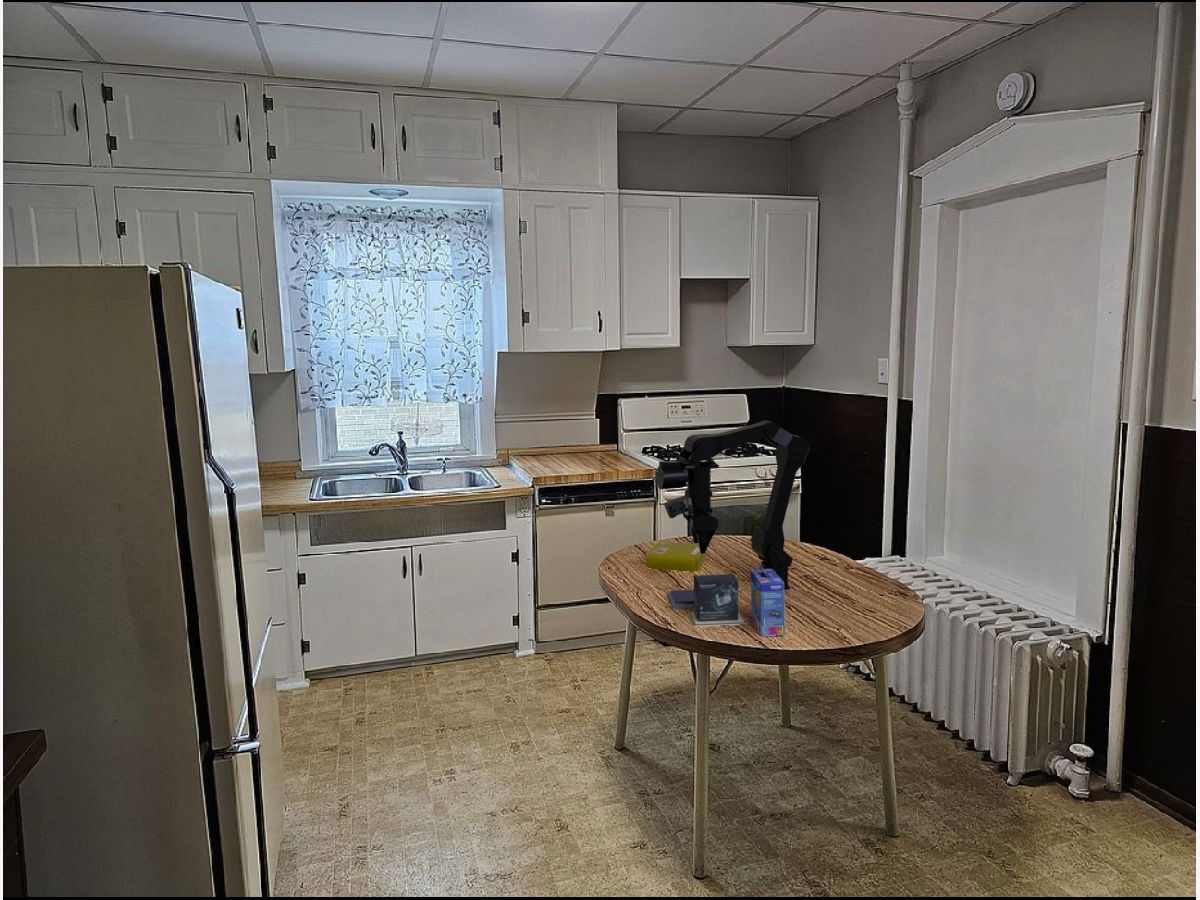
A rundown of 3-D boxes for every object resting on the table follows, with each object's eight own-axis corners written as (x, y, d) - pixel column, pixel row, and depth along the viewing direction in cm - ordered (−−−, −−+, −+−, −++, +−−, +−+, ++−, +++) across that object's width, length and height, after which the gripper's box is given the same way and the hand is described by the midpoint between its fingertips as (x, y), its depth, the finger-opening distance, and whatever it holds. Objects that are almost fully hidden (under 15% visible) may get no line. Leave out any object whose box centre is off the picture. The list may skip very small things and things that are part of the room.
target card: (738, 610, 177) (738, 608, 177) (747, 624, 169) (747, 622, 168) (687, 612, 177) (687, 610, 177) (694, 626, 168) (694, 625, 168)
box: (697, 622, 170) (697, 582, 168) (693, 613, 175) (693, 574, 174) (738, 620, 170) (738, 580, 169) (733, 611, 176) (733, 572, 174)
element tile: (697, 574, 207) (697, 557, 206) (644, 570, 211) (644, 553, 211) (707, 558, 221) (707, 542, 220) (657, 555, 226) (657, 539, 225)
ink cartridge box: (749, 620, 171) (749, 558, 169) (773, 619, 171) (774, 557, 169) (760, 637, 161) (760, 572, 159) (785, 636, 161) (786, 571, 159)
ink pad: (704, 595, 189) (704, 588, 188) (711, 607, 180) (710, 600, 179) (668, 596, 188) (668, 590, 188) (673, 609, 179) (673, 602, 179)
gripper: (661, 480, 194) (662, 539, 196) (671, 495, 175) (672, 560, 178) (704, 479, 194) (704, 538, 197) (719, 493, 176) (719, 558, 178)
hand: (699, 548), depth 187 cm, fingers open, 9 cm apart
